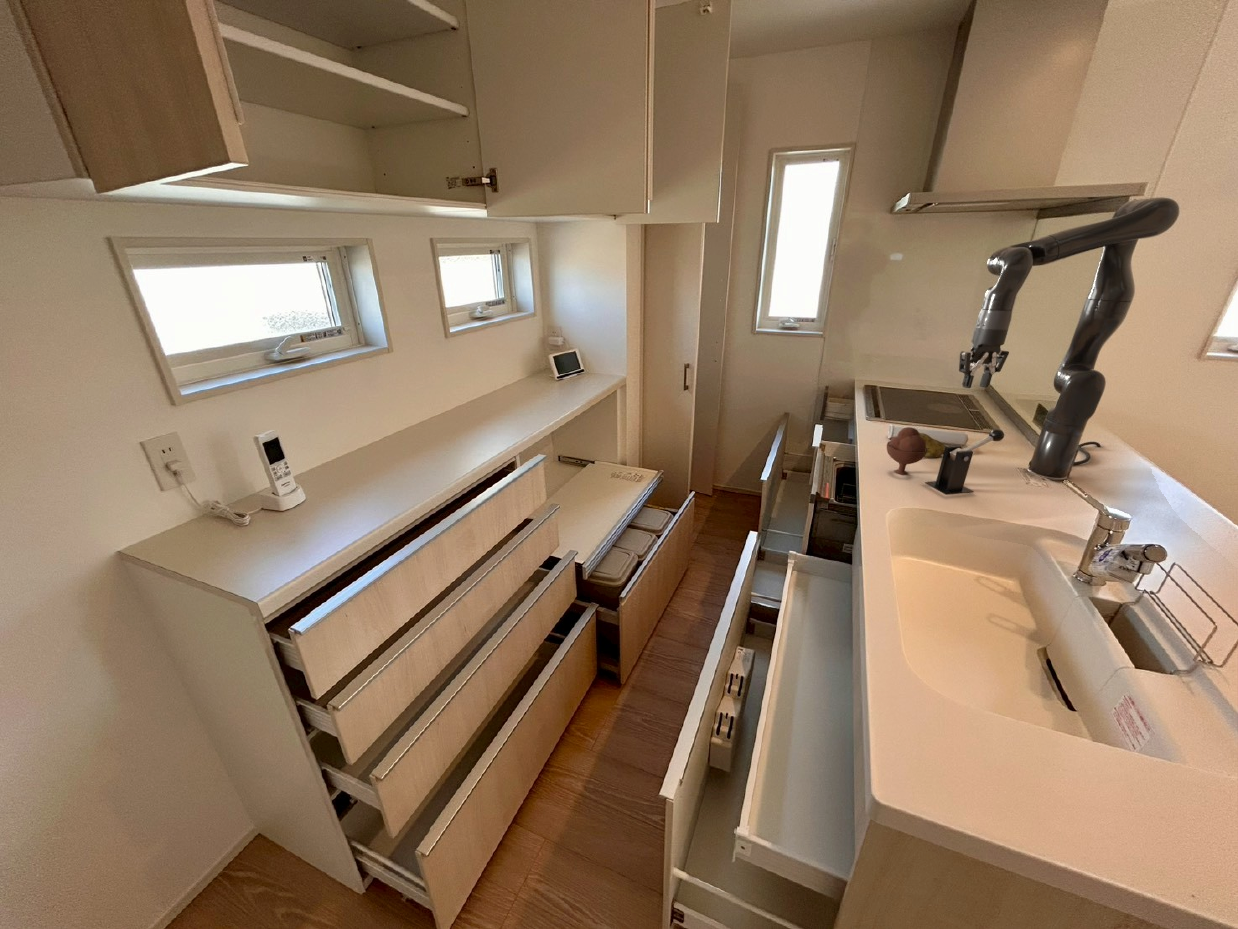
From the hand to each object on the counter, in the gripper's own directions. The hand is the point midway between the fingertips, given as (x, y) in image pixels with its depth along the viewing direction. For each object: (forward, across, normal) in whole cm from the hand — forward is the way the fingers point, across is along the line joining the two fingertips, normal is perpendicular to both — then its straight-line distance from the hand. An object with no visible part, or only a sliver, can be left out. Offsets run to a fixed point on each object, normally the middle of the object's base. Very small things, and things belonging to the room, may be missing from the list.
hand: (975, 387), depth 143 cm
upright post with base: (+27, -10, -10) cm, 31 cm away
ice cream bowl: (+28, -16, +2) cm, 32 cm away
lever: (+15, -4, -10) cm, 19 cm away
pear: (+28, +3, +15) cm, 32 cm away
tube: (+28, +14, +27) cm, 41 cm away
